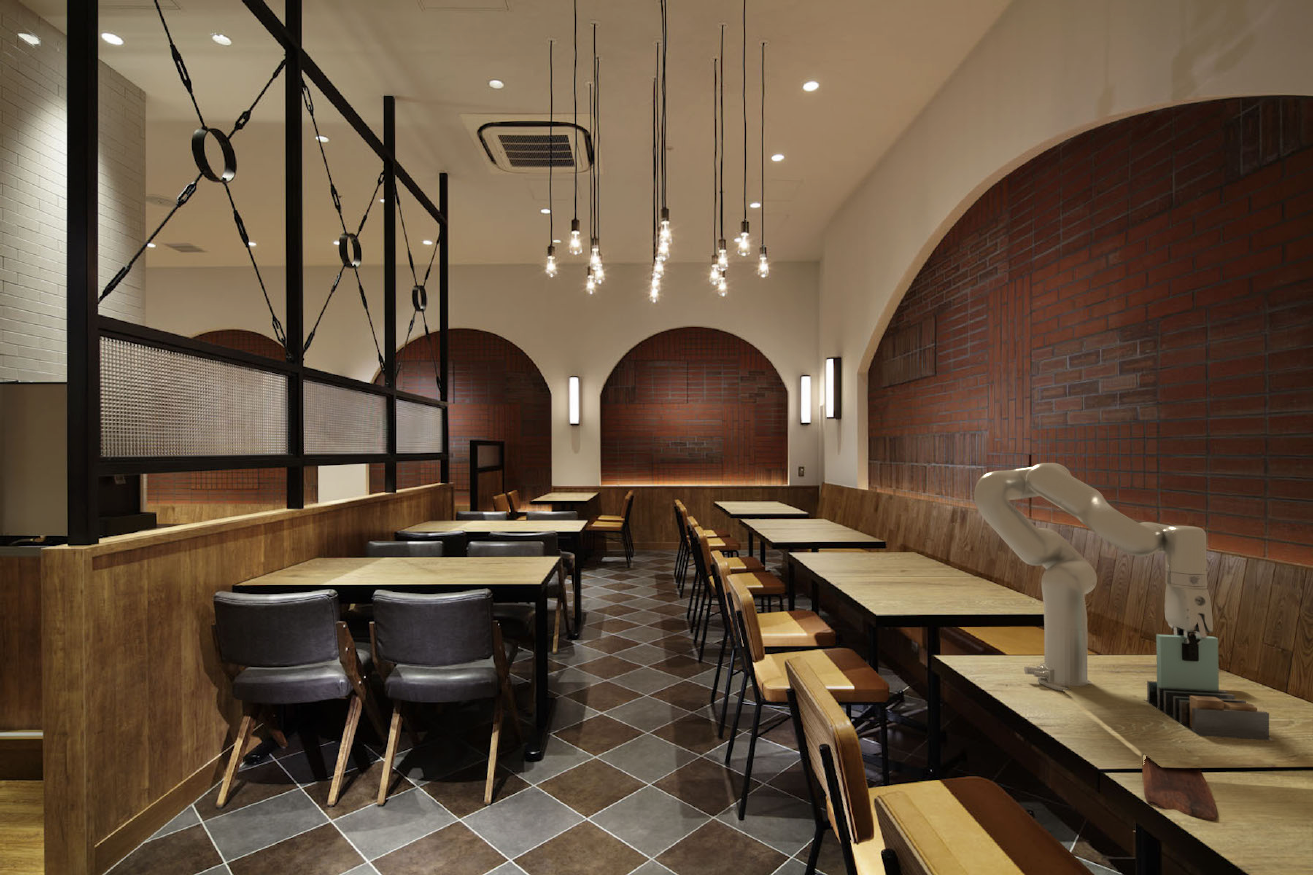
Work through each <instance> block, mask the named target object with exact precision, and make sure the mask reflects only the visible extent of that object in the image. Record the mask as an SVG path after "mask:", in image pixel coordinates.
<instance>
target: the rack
mask: <svg viewBox="0 0 1313 875" xmlns="http://www.w3.org/2000/svg"><path fill="white" fill-rule="evenodd" d="M1146 682H1147V683H1146V684H1147V686H1146V687H1147V690H1146V692H1147V699H1143V701H1144V702H1147V703H1148V704H1149V705H1150V706H1152V707H1153V708H1156V709H1157V710H1158V711H1160V712H1161V713H1163V714H1164V715H1166V716H1168V717H1169V718H1171V719H1172V720H1174V721H1175V722H1177V723H1178V724H1180V725H1182V726H1183V727H1185V728H1187V730H1189V731H1191V732H1192V733H1194V734H1195V735H1197V736H1198V737H1207V738H1209V737H1211V738H1223V739H1224V738H1227V739H1241V740H1242V739H1243V740H1258V741H1259V740H1260V741H1275V739H1274V738H1271V737H1270V713H1269V712H1268V711H1259V710H1257V711H1244V710H1226V709H1208V708H1192V727H1191V726H1190V696H1206V697H1216V698H1218V699H1220V700H1222V701H1223V702H1231V703H1247V701H1246V700H1244V699H1236V696H1235V694H1233V693H1228V691H1227V690H1224V689H1223V690H1222V689H1219V690H1205V689H1186V688H1166V687H1157V680H1156V681H1153V680H1147V681H1146ZM1157 691H1158V695H1157ZM1249 704H1250V705H1252V706H1254V705H1253V704H1252V703H1249Z"/></svg>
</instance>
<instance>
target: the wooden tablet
mask: <svg viewBox="0 0 1313 875" xmlns="http://www.w3.org/2000/svg"><path fill="white" fill-rule="evenodd" d="M1144 761H1145V762H1144V763H1145V764H1144V765H1143V768H1142V783H1143V793H1144V798H1145V800H1146V803H1147V804H1148V805H1149V806H1151V807H1155V808H1159V809H1164V810H1168V811H1169V810H1174V811H1178V812H1179V813H1181V814H1183V815H1185V816H1190V817H1193V818H1196V819H1201V820H1204V821H1210V822H1214V821H1217V820H1218V810H1217V809H1218V808H1217V807H1216V802H1215V799H1214V796H1213V794H1212V790H1211V789H1210V787H1209V784H1208V782H1207V780H1206V778H1205V776H1204V774H1203V772H1202V769H1196V768H1195V769H1194V768H1183V767H1182V768H1181V767H1180V768H1179V767H1165V766H1160V765H1159V764H1158V763H1157V762H1156V761H1154V760H1153V759H1151V757H1149V756H1148V755H1147V756H1146V759H1145V760H1144Z"/></svg>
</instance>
